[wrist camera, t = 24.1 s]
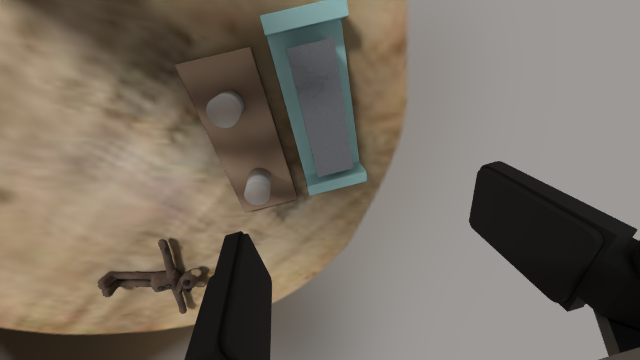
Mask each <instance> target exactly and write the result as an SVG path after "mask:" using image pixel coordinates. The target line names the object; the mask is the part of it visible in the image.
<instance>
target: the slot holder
mask: <svg viewBox="0 0 640 360" xmlns="http://www.w3.org/2000/svg"><path fill="white" fill-rule="evenodd" d="M346 16H348V7H347V0H324V1H320V2H316V3H311V4H307V5H303V6H299V7H294V8H290V9H286V10H282V11H277V12H273V13H269V14H264V15H260V19H261V22H262V26H263V30H264V33H265V36H266V37H267V39H268V43H269V47H270V50H271V54H272V58H273V61H274V65H275V69H276V72H277V76H278V79H279V83H280V87H281V90H282V94H283V98H284V101H285V105H286V109H287V112H288V116H289V119H290V123H291V127H292V130H293V134H294V138H295V141H296V145H297V148H298V152H299V156H300V159H301V163H302V167H303V170H304V174H305V178H306V183H307V188H308V192H309V195H310V196H311V195H315V194H319V193H323V192H327V191H331V190H334V189H338V188H342V187H346V186H350V185H354V184H358V183H362V182H366V181H367V173H366V170H365V169H364V168H363V166H362V165H361V163H360V162H359V154H358V146H357V139H356V131H355V123H354V115H353V107H352V100H351V92H350V84H349V76H348V69H347V61H346V53H345V45H344V37H343V30H342V22H341V19H343V18H345V17H346ZM329 38H334V41H335V47H336V54H337V61H338V68H339V75H340V81H341V88H342V95H343V102H344V109H345V115H346V122H347V129H348V136H349V143H350V149H351V156H352V163H353V168H352V169H348V170H344V171H340V172H336V173H332V174H328V175H324V176H320V177H318V175H317V172H316V169H315V165H314V161H313V157H312V153H311V149H310V145H309V141H308V137H307V133H306V129H305V125H304V121H303V116H302V112H301V108H300V104H299V100H298V96H297V92H296V88H295V84H294V80H293V76H292V72H291V67H290V63H289V59H288V55H287V51H286V49H288V48H292V47H296V46H300V45H304V44H309V43H313V42H317V41H321V40H325V39H329Z"/></svg>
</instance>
